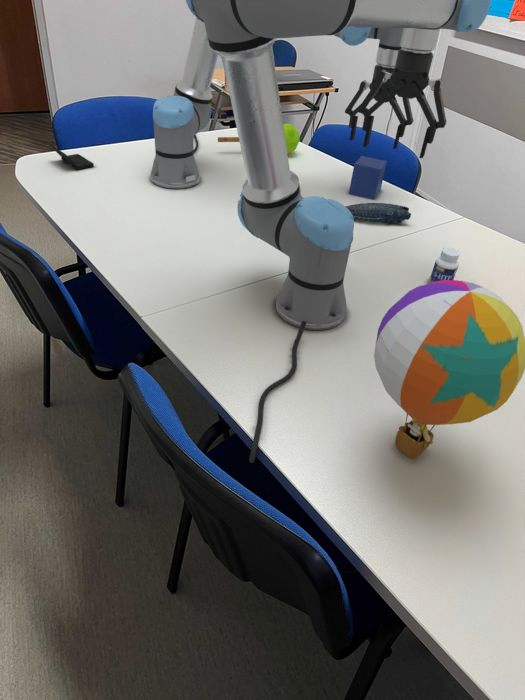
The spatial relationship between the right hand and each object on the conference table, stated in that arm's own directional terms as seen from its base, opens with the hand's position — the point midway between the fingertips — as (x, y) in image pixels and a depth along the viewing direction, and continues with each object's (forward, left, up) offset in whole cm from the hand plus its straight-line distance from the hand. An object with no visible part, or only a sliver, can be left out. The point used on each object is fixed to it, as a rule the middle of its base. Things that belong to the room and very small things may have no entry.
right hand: (393, 151), depth 124 cm
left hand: (+36, +2, -9) cm, 37 cm away
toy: (-72, -5, -25) cm, 76 cm away
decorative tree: (+61, +41, -25) cm, 78 cm away
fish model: (+16, 0, -25) cm, 30 cm away
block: (+37, +2, -25) cm, 45 cm away
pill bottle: (-17, -16, -25) cm, 34 cm away
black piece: (+28, +97, -25) cm, 104 cm away
